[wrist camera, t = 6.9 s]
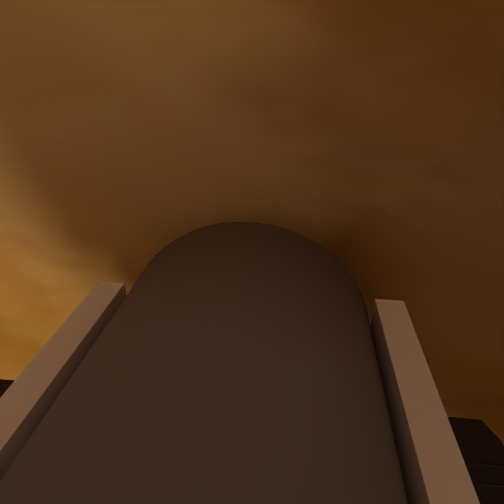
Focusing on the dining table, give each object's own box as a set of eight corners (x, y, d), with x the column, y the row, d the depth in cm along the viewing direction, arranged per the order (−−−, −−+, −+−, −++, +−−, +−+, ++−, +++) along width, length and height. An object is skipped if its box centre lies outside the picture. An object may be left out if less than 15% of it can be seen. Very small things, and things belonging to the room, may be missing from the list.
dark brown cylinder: (138, 401, 15) (-18, 742, 8) (125, 208, 12) (-159, 485, 4) (345, 430, 14) (385, 822, 7) (392, 237, 11) (544, 599, 4)
